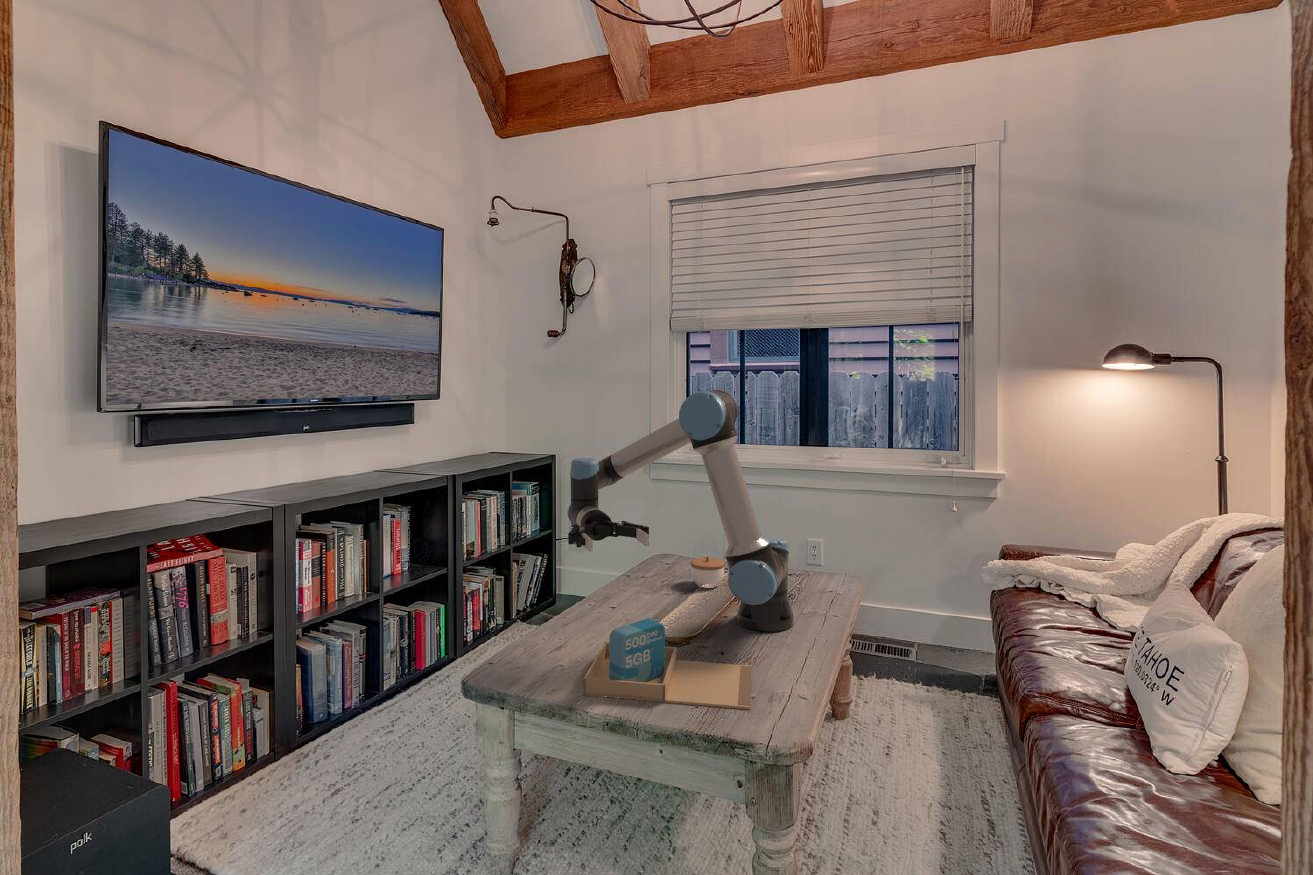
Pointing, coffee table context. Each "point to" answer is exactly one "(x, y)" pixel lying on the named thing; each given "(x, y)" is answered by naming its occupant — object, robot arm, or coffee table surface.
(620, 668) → the data package
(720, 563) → the lidded jar
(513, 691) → the coffee table surface
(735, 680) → the mailer box
